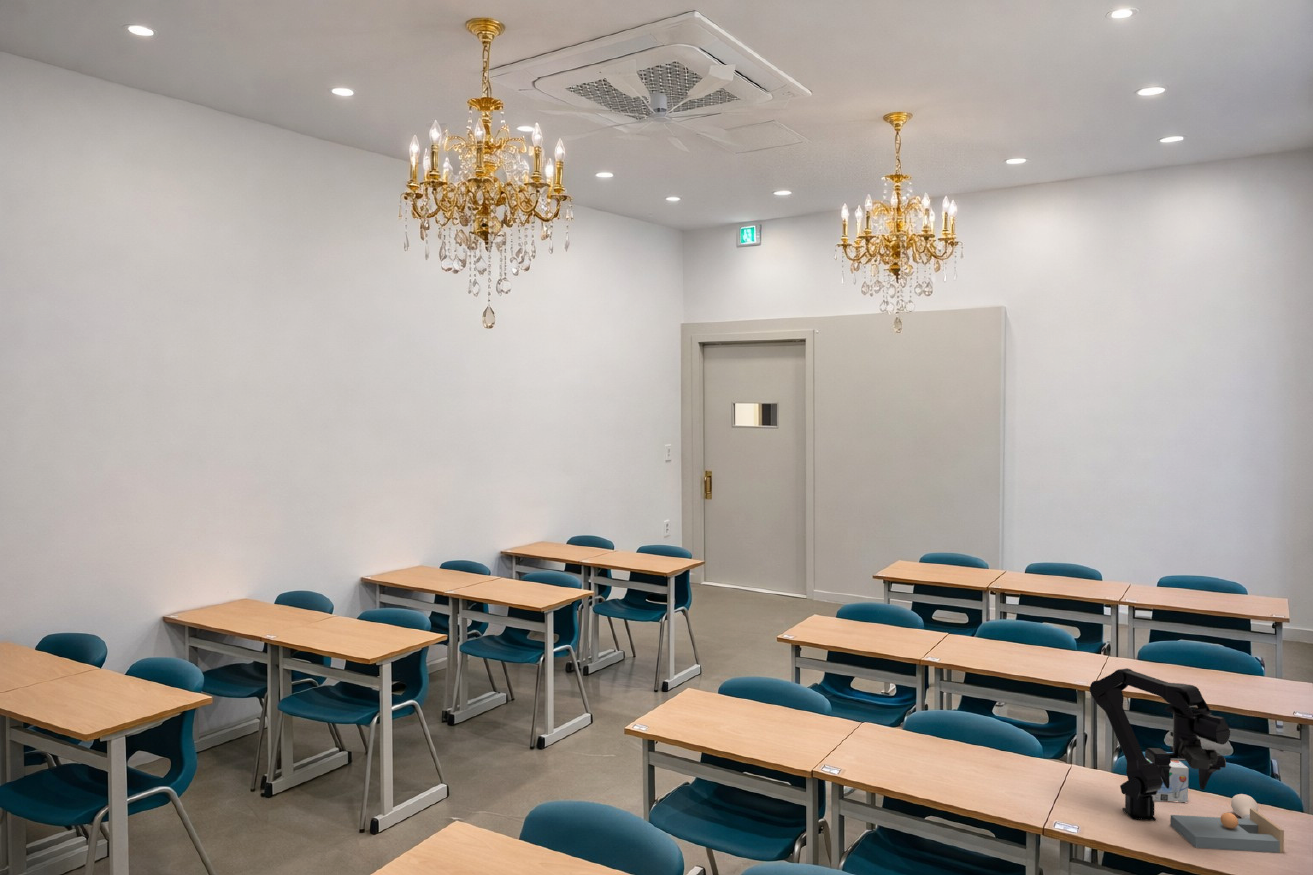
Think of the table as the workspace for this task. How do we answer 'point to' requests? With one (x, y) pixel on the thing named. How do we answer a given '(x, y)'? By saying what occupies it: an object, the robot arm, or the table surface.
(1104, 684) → the robot arm
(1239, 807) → the light bulb
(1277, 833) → the notched base with backboard
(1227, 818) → the ball
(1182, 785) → the light bulb box
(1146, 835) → the table surface
